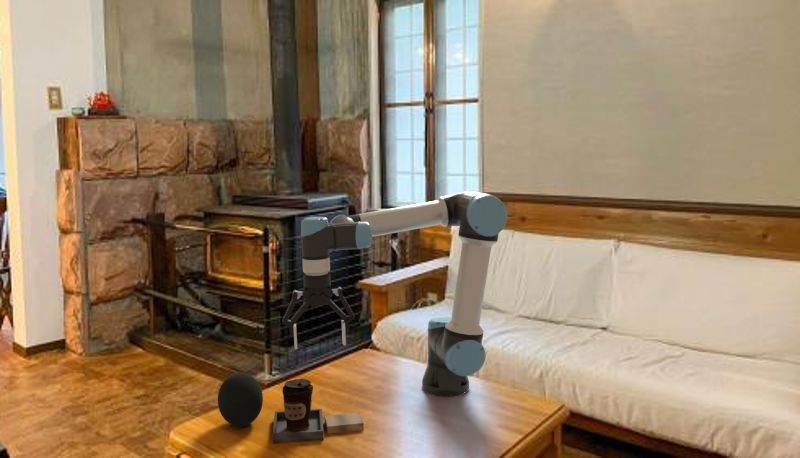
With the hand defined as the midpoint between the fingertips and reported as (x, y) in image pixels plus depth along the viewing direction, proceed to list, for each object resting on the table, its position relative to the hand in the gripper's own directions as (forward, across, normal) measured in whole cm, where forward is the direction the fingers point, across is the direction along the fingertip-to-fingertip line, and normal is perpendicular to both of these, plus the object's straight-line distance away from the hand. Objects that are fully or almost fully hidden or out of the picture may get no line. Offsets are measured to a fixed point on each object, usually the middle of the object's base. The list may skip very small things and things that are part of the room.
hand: (320, 345), depth 185 cm
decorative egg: (+21, +23, 0) cm, 32 cm away
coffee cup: (+21, +7, +6) cm, 23 cm away
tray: (+22, +7, +6) cm, 24 cm away
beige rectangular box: (+22, -5, +6) cm, 24 cm away
